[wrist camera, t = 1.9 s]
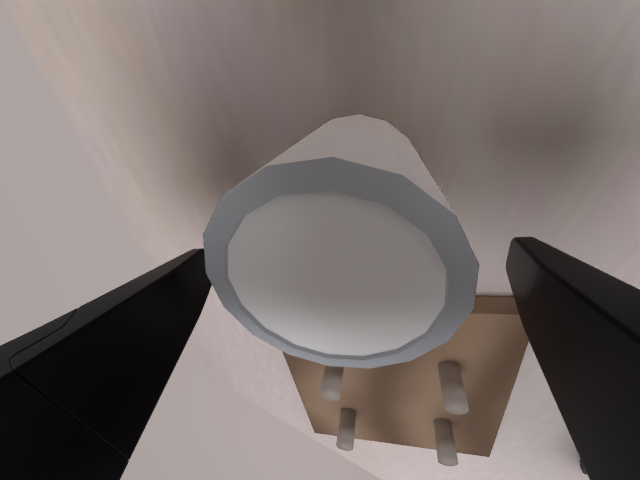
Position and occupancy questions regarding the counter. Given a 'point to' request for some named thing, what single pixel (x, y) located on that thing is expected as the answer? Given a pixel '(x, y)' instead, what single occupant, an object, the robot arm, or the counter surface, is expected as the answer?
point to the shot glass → (343, 250)
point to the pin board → (424, 389)
